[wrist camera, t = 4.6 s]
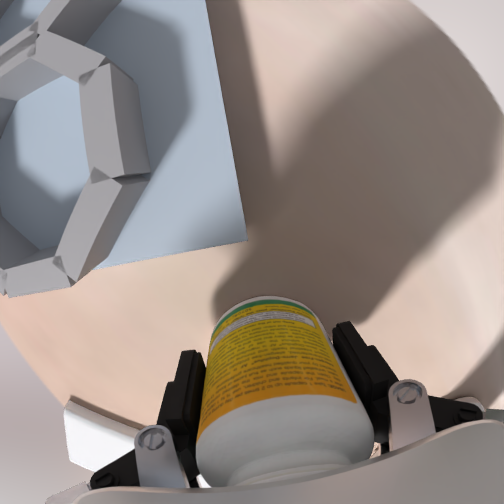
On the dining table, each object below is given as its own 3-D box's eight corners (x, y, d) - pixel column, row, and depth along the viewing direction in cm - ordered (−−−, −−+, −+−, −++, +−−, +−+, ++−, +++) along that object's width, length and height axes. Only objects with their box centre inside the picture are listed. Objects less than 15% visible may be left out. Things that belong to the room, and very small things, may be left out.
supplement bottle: (339, 348, 14) (422, 510, 5) (252, 398, 14) (268, 564, 5) (284, 267, 12) (375, 469, 3) (185, 331, 13) (140, 530, 4)
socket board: (246, 228, 12) (252, 264, 7) (2, 279, 12) (-47, 312, 7) (192, -73, 7) (183, -124, 3) (-14, 23, 7) (-55, 8, 3)
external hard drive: (72, 393, 15) (246, 451, 17) (75, 449, 17) (212, 493, 19) (62, 409, 13) (247, 469, 15) (69, 462, 15) (212, 507, 17)
